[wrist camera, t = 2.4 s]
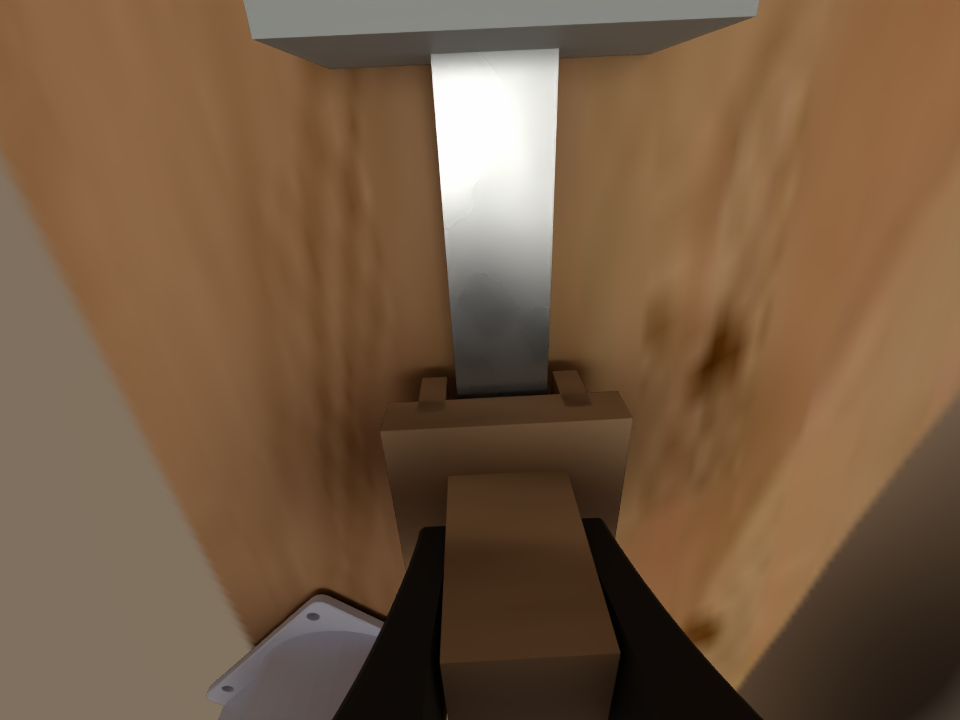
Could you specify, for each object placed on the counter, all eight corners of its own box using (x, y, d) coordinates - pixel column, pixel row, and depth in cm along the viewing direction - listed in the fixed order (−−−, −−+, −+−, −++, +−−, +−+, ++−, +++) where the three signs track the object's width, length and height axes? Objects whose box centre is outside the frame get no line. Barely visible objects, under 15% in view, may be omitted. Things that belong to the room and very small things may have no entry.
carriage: (588, 517, 16) (667, 767, 10) (417, 527, 15) (387, 784, 9) (605, 368, 13) (730, 591, 7) (393, 379, 13) (330, 614, 7)
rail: (549, 544, 17) (561, 603, 15) (456, 549, 17) (454, 609, 15) (574, 27, 9) (605, 0, 7) (404, 34, 9) (387, 10, 7)
